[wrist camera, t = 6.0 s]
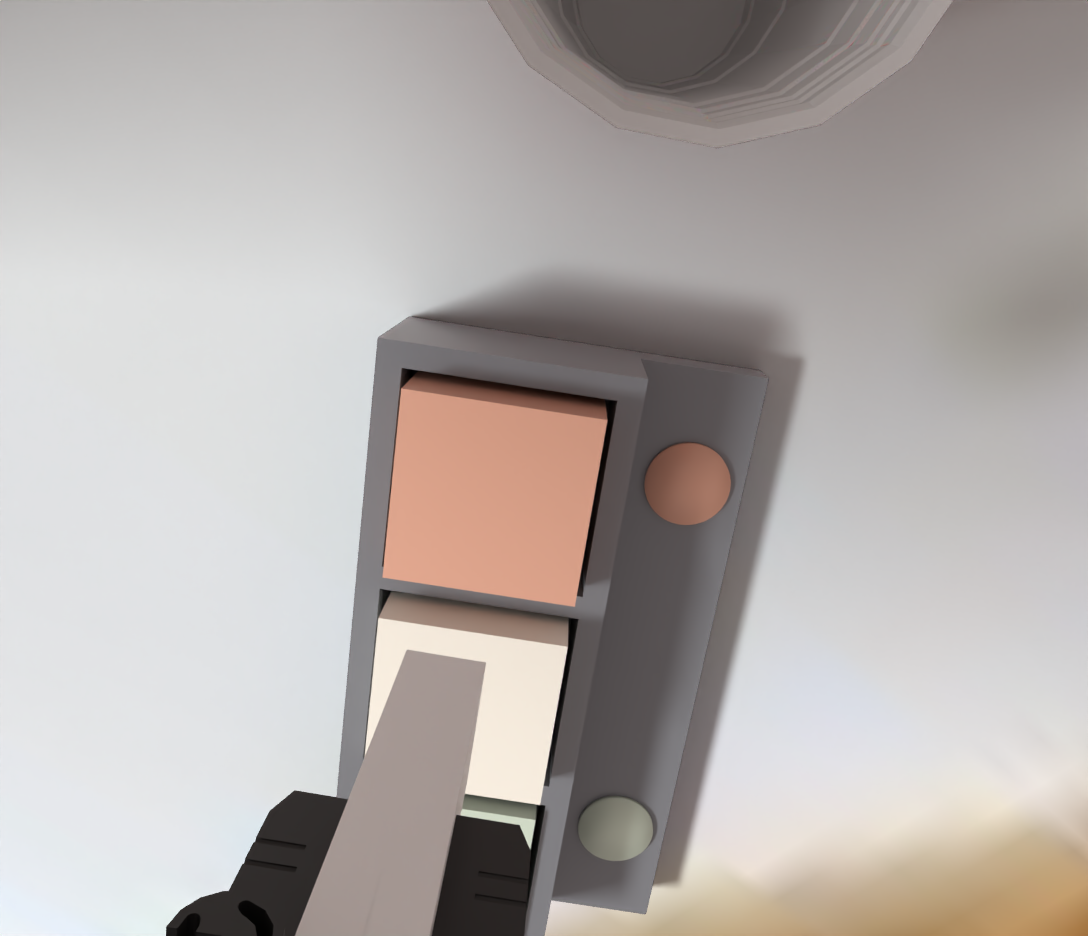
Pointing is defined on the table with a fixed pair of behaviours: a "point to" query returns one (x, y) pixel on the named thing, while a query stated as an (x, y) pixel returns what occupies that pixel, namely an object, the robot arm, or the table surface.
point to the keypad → (590, 587)
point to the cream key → (484, 681)
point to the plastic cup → (718, 59)
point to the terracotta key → (493, 487)
